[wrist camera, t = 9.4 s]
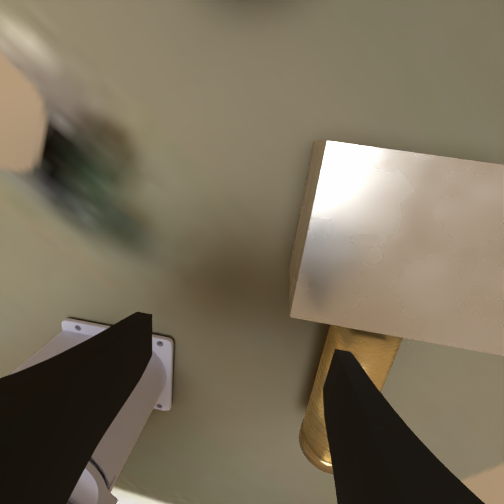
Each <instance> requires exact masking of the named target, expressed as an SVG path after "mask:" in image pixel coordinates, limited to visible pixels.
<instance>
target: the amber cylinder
mask: <svg viewBox="0 0 504 504" xmlns="http://www.w3.org/2000/svg"><path fill="white" fill-rule="evenodd" d="M402 339H403V338H402V337H396V336H391V335H385V334H380V333H374V332H369V331H363V330H358V329H352V328H347V327H341V326H336V325H330V328H329V331H328V335H327V338H326V342H325V346H324V349H323V353H322V356H321V360H320V363H319V367H318V371H317V374H316V378H315V381H314V385H313V388H312V392H311V396H310V399H309V403H308V406H307V410H306V413H305V417H304V419H303V422H302V425H301V429H300V433H299V443H300V446H301V449H302V451H303V453H304V455H305V456H306V458H307V459H308V460H309V461H310V462H311V463H312V464H313V465H314V466H315V467H317V468H318V469H320V470H322V471H324V472H326V473H330V474H333V468H332V462H331V456H330V450H329V444H328V438H327V432H326V426H325V419H324V406H323V387H324V383H325V380H326V377H327V373H328V370H329V367H330V363H331V360H332V357H333V353H334V350H335V349H339V350H344V351H350V352H352V354H353V355H354V356H355V358H356V359H357V361H358V362H359V363H360V365H361V366H362V368H363V369H364V371H365V372H366V373H367V375H368V376H369V378H370V379H371V380H372V382H373V383H374V384H375V386H376V387H377V389H378V390H379V391H380V392H381V391H382V388H383V386H384V383H385V381H386V378H387V376H388V373H389V371H390V368H391V366H392V364H393V361H394V359H395V356H396V354H397V351H398V349H399V346H400V344H401V341H402Z"/></svg>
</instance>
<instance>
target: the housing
mask: <svg viewBox="0 0 504 504" xmlns="http://www.w3.org/2000/svg"><path fill="white" fill-rule="evenodd" d="M290 317H292V318H297V319H303V320H308V321H314V322H319V323H325V324H330V325H336V326H341V327H347V328H352V329H358V330H363V331H369V332H374V333H380V334H385V335H391V336H396V337H402V338H407V339H413V340H418V341H424V342H429V343H435V344H440V345H446V346H452V347H457V348H463V349H468V350H474V351H479V352H485V353H490V354H496V355H501V356H504V165H501V164H494V163H486V162H479V161H472V160H464V159H457V158H450V157H443V156H435V155H428V154H421V153H413V152H406V151H399V150H392V149H384V148H377V147H370V146H363V145H355V144H348V143H341V142H333V141H314V143H313V149H312V154H311V159H310V164H309V169H308V174H307V179H306V184H305V189H304V194H303V199H302V205H301V210H300V215H299V220H298V225H297V230H296V235H295V240H294V245H293V250H292V255H291V261H290Z"/></svg>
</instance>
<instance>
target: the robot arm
mask: <svg viewBox="0 0 504 504" xmlns="http://www.w3.org/2000/svg"><path fill="white" fill-rule="evenodd" d="M61 325H62V331H61V332H60V333H59V334H57V335H56V336H55V337H54V338H53V339H51V340H50V341H49V342H48V343H46V344H45V345H44V346H43V347H42V348H40V349H39V350H38V351H37V352H36V353H34V354H33V355H32V356H31V357H30V358H28V359H27V360H26V361H25V362H24V363H22V364H21V365H20V366H19V367H17V368H16V369H15V370H14V371H13V372H11V373H10V374H9V375H8V376H5V377H2V378H0V504H116V503H117V501H118V500H117V498H116V497H114V496H113V495H112V494H111V493H110V492H111V490H112V488H113V487H114V485H115V483H116V481H117V479H118V477H119V475H120V473H121V471H122V469H123V467H124V465H125V463H126V461H127V459H128V457H129V455H130V453H131V451H132V449H133V447H134V446H135V444H136V442H137V440H138V438H139V436H140V434H141V432H142V430H143V428H144V426H145V424H146V422H147V420H148V418H149V416H150V414H151V412H152V410H153V409H158V410H163V411H169V410H170V408H171V406H172V380H173V347H174V343H173V340H172V339H171V338H168V337H164V336H159V335H153V334H152V314H146V313H141V312H136V313H134V314H132V315H130V316H129V317H127V318H125V319H123V320H121V321H120V322H118V323H116V324H114V325H113V326H106V325H101V324H96V323H91V322H86V321H80V320H75V319H70V318H66V319H65V320H63V321H62V322H61ZM79 326H80V327H79ZM159 341H161V342H162V343H160V342H159ZM323 406H324V419H325V426H326V432H327V438H328V444H329V450H330V456H331V462H332V468H333V474H334V480H335V487H336V495H337V503H338V504H485V503H483V502H482V501H481V500H480V499H479V498H478V497H477V496H476V495H475V494H474V493H472V492H471V491H470V490H469V489H468V488H467V487H466V486H465V485H464V484H463V483H462V482H461V481H460V480H459V479H458V478H457V477H456V476H455V475H454V474H452V473H451V472H450V471H449V470H448V469H447V468H446V467H445V466H444V465H443V464H442V463H441V462H440V461H439V460H438V459H437V458H436V456H435V455H434V454H433V453H432V452H431V451H430V450H429V449H428V448H427V447H426V446H425V445H424V444H423V443H422V442H421V441H420V440H419V438H418V437H417V436H416V435H415V434H414V433H413V432H412V431H411V429H410V428H409V427H408V426H407V425H406V424H405V422H404V421H403V420H402V419H401V418H400V416H399V415H398V414H397V413H396V412H395V410H394V409H393V408H392V407H391V405H390V404H389V403H388V402H387V400H386V399H385V398H384V396H383V395H382V394H381V392H380V391H379V390H378V389H377V387H376V386H375V384H374V383H373V382H372V380H371V379H370V378H369V376H368V375H367V373H366V372H365V371H364V369H363V368H362V366H361V365H360V363H359V362H358V361H357V359H356V358H355V356H354V355H353V354H352V352H350V351H344V350H339V349H335V350H334V353H333V357H332V360H331V363H330V367H329V370H328V373H327V377H326V380H325V383H324V387H323Z"/></svg>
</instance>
